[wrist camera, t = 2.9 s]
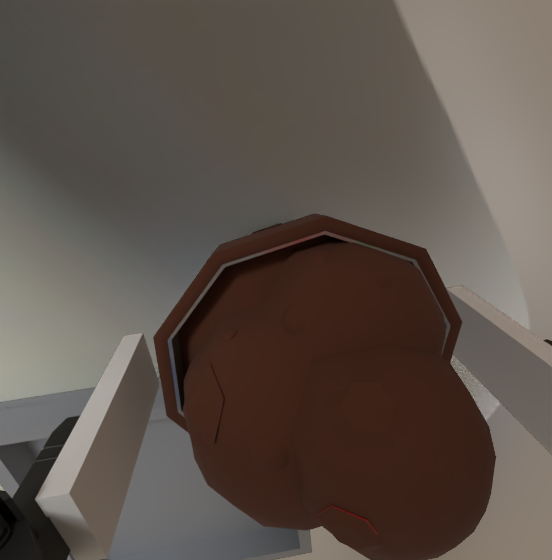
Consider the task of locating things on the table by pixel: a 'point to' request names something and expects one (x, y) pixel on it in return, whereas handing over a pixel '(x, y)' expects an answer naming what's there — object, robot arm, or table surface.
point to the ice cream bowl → (329, 389)
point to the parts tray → (150, 489)
